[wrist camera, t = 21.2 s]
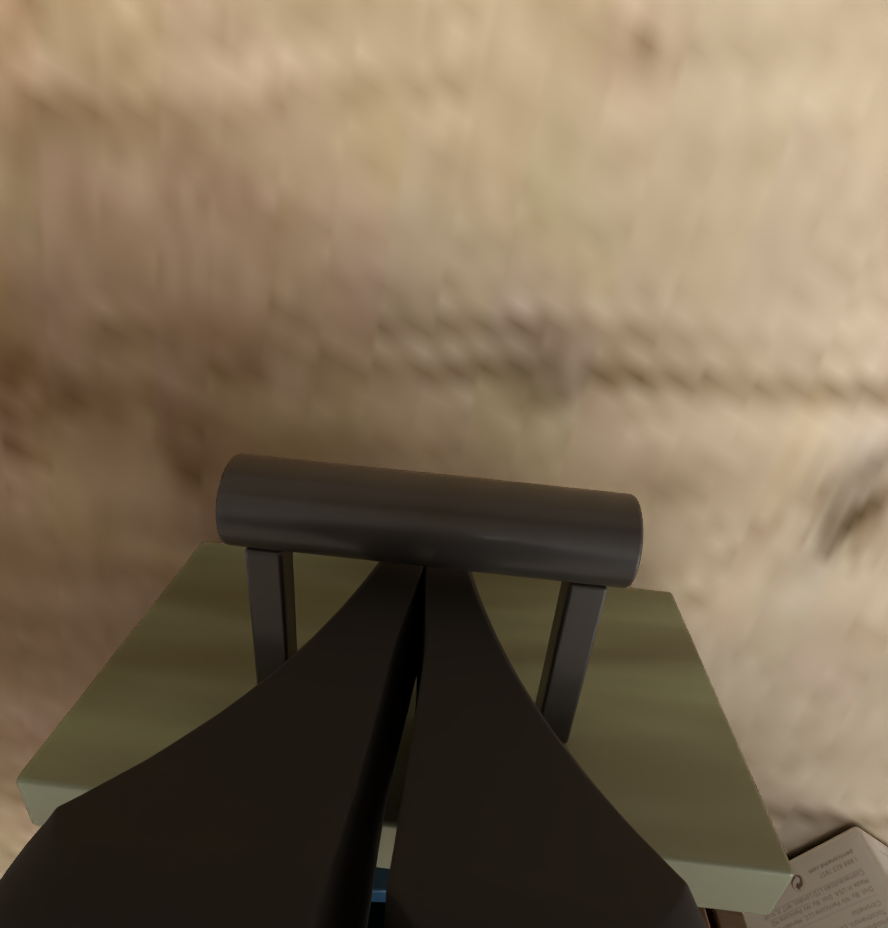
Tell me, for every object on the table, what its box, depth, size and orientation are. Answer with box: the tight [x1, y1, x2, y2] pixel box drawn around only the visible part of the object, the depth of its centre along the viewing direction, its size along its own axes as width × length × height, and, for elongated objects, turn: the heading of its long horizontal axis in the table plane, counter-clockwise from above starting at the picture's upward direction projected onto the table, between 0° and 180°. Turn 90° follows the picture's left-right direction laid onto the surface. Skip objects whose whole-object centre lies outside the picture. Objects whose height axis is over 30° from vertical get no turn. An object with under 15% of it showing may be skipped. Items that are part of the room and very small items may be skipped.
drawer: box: [16, 453, 793, 928], centre depth 13 cm, size 17×12×7 cm
